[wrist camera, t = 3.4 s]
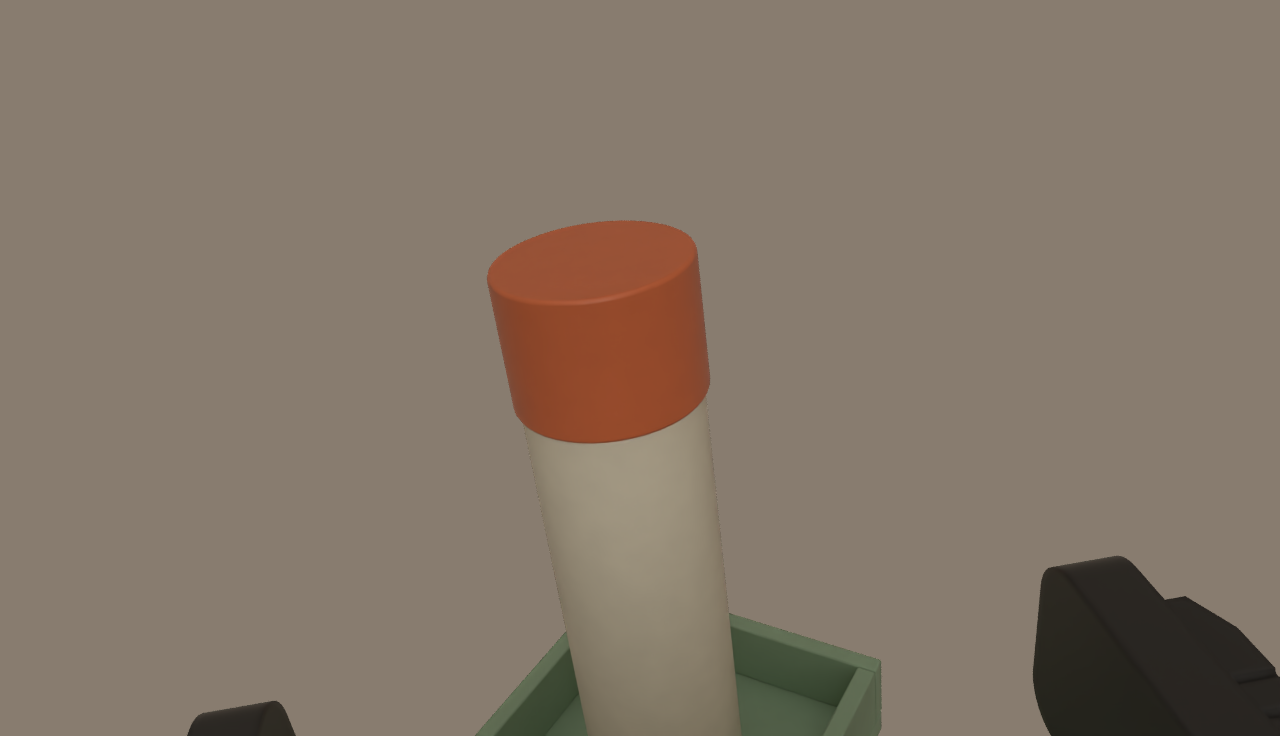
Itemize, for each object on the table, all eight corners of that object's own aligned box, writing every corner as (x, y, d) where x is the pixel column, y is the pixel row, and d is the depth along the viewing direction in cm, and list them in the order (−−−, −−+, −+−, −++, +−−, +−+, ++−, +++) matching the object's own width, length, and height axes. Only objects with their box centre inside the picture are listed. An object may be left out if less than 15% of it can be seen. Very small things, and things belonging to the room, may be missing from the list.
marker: (703, 866, 19) (624, 314, 14) (562, 802, 21) (441, 287, 16) (775, 739, 22) (733, 227, 16) (644, 691, 24) (565, 212, 18)
